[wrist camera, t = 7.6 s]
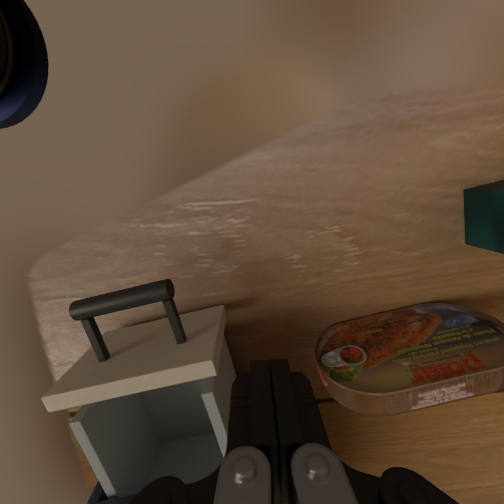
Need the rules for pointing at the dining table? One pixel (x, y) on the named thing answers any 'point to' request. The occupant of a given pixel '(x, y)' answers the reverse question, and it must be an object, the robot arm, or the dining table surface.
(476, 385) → the tin
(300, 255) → the dining table surface
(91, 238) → the dining table surface
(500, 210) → the block
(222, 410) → the drawer
